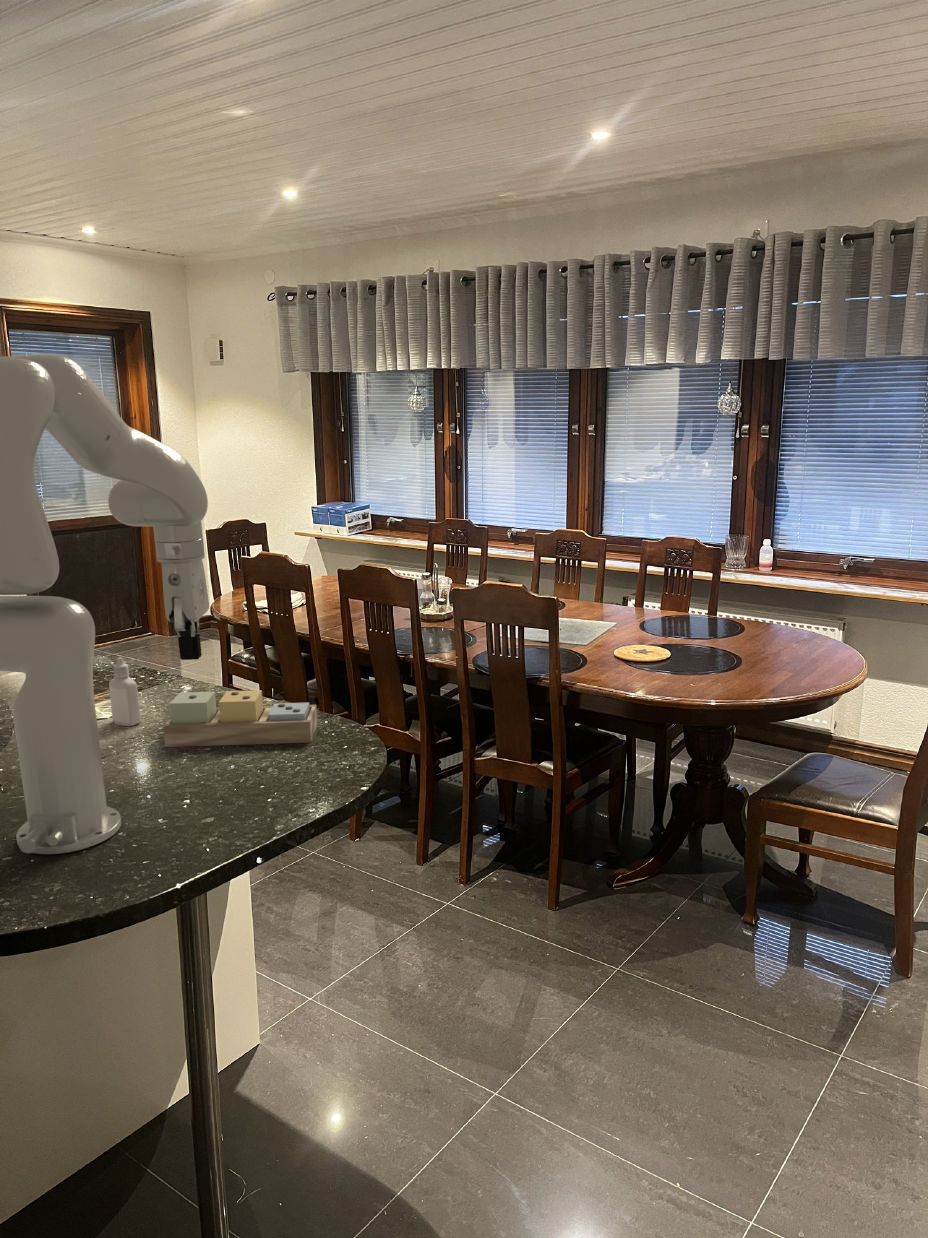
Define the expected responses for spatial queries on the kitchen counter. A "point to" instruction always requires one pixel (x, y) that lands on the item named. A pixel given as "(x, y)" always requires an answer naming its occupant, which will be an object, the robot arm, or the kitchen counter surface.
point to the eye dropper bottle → (124, 696)
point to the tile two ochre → (241, 706)
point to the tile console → (241, 731)
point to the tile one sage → (193, 707)
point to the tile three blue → (289, 711)
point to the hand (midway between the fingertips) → (191, 658)
